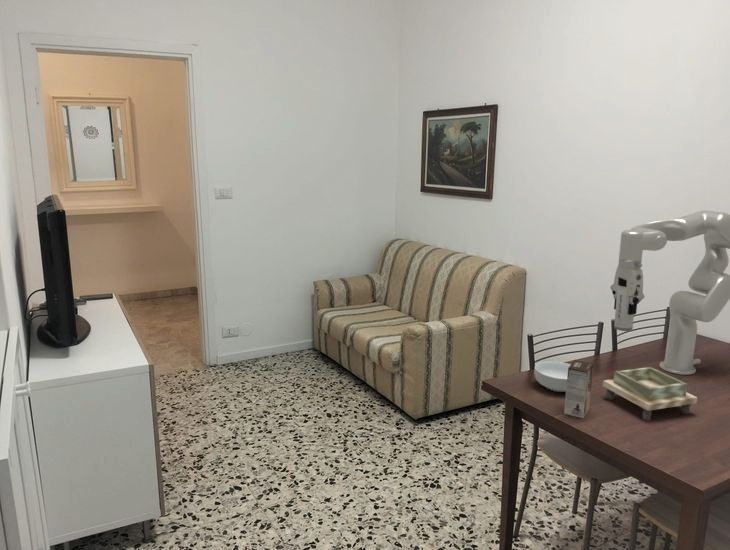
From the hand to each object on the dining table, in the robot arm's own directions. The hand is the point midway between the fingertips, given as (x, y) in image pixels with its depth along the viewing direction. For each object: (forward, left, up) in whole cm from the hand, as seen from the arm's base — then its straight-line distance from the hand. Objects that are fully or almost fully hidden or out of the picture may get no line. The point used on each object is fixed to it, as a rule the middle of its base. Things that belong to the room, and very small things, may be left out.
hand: (624, 311), depth 206 cm
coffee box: (+34, +20, -26) cm, 48 cm away
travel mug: (0, 0, -7) cm, 7 cm away
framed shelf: (+8, +23, -26) cm, 36 cm away
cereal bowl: (+28, +2, -26) cm, 39 cm away
